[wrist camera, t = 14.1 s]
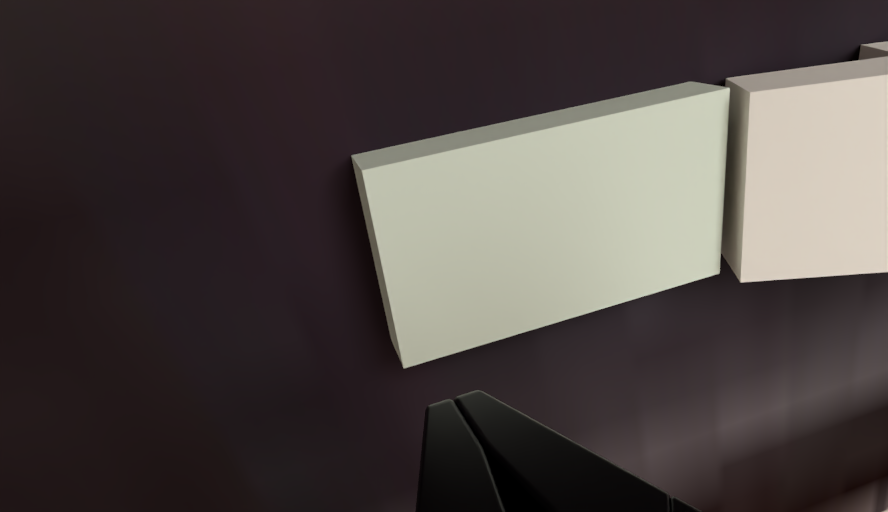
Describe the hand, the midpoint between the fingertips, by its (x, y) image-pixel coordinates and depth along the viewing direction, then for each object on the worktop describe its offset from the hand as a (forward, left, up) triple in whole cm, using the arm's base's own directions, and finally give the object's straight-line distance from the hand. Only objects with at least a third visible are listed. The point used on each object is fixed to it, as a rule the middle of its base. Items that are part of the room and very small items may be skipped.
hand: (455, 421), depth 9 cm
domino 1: (0, 0, -6) cm, 6 cm away
